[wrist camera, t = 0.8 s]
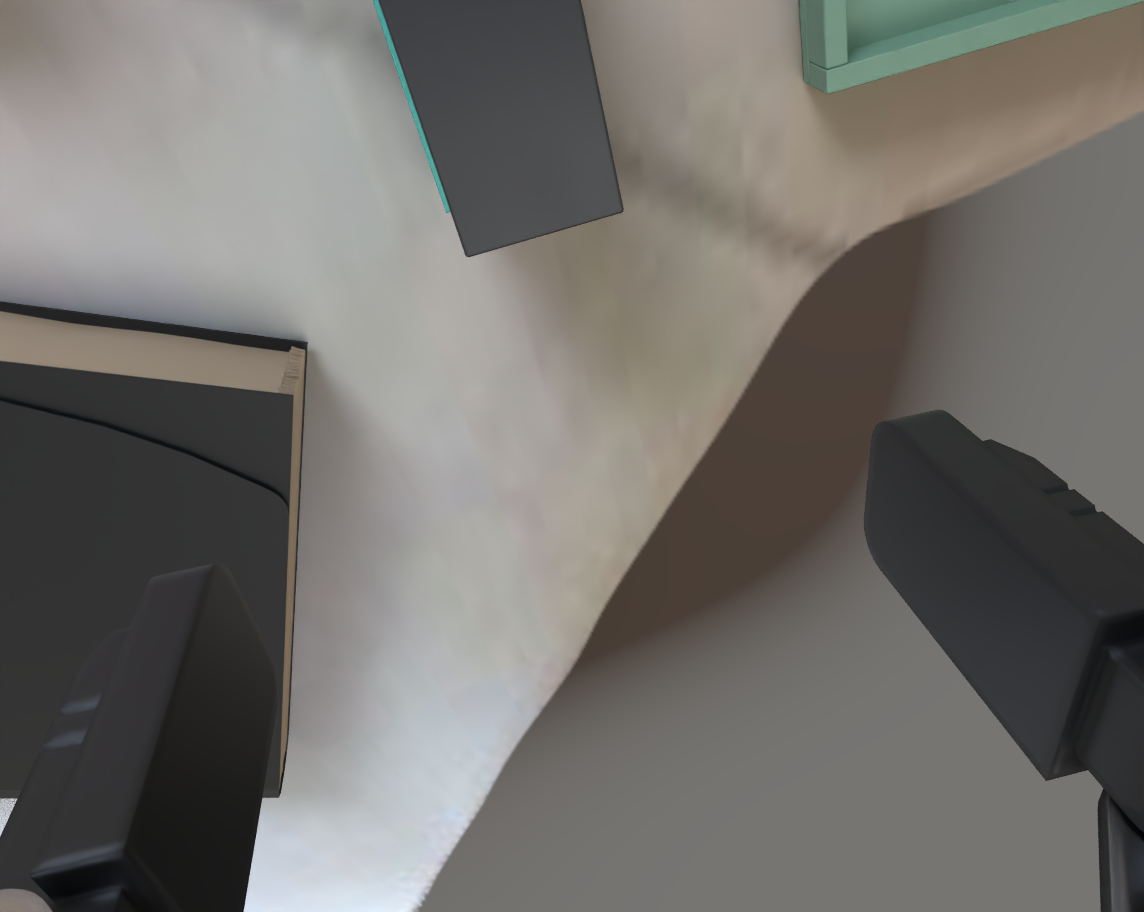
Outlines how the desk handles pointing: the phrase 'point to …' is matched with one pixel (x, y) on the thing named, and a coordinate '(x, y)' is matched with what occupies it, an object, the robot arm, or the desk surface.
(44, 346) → the dark hardcover book
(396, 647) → the desk surface
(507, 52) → the grey tabbed box
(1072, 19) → the tray
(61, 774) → the robot arm
